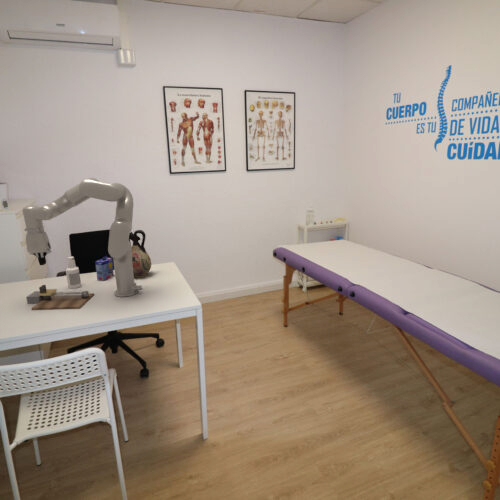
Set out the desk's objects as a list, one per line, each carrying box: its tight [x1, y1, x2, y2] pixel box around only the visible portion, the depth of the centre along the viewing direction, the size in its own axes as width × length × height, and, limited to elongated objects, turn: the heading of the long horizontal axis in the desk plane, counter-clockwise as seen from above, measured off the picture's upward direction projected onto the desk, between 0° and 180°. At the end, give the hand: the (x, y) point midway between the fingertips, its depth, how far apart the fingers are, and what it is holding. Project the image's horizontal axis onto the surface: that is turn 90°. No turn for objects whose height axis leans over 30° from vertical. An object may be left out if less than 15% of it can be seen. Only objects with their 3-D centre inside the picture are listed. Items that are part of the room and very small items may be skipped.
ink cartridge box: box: [94, 255, 115, 282], centre depth 221 cm, size 10×6×14 cm, turn 163°
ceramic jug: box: [129, 229, 152, 279], centre depth 223 cm, size 17×15×30 cm
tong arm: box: [43, 290, 90, 300], centre depth 189 cm, size 23×4×3 cm, turn 90°
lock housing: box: [26, 290, 44, 305], centre depth 190 cm, size 6×8×4 cm
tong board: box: [31, 292, 95, 311], centre depth 187 cm, size 24×18×1 cm
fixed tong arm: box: [54, 291, 83, 294], centre depth 191 cm, size 19×2×2 cm, turn 91°
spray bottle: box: [65, 256, 82, 290], centre depth 207 cm, size 7×7×18 cm
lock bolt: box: [38, 284, 58, 296], centre depth 189 cm, size 6×6×4 cm
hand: (43, 264), depth 187 cm, fingers closed
